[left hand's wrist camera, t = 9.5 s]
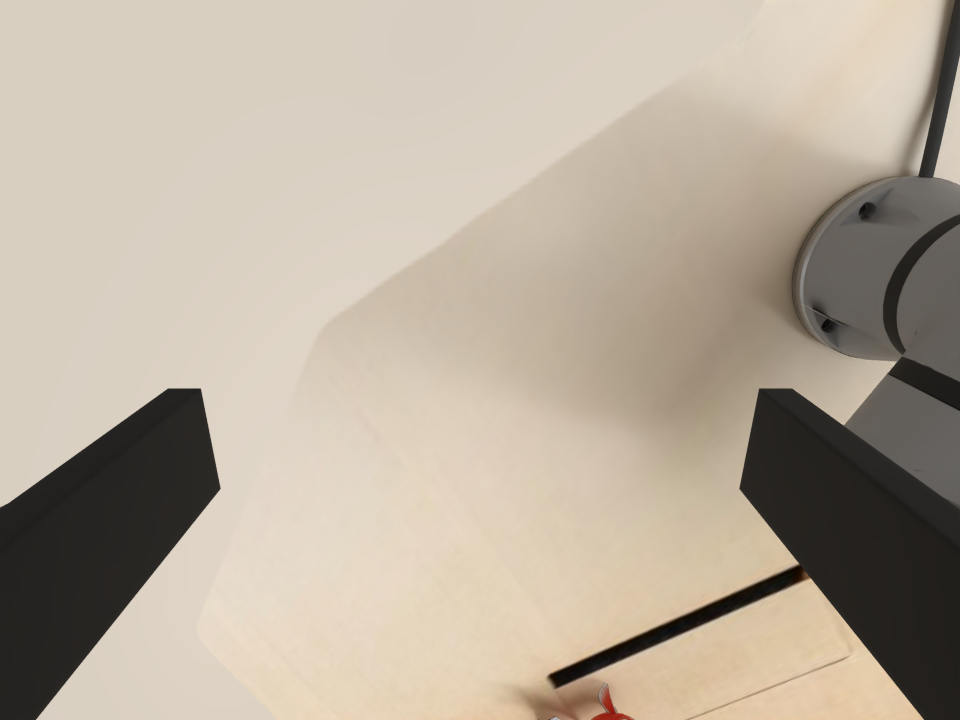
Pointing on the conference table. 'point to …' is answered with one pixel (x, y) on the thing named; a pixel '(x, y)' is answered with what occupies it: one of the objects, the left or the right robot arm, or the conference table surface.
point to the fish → (606, 707)
